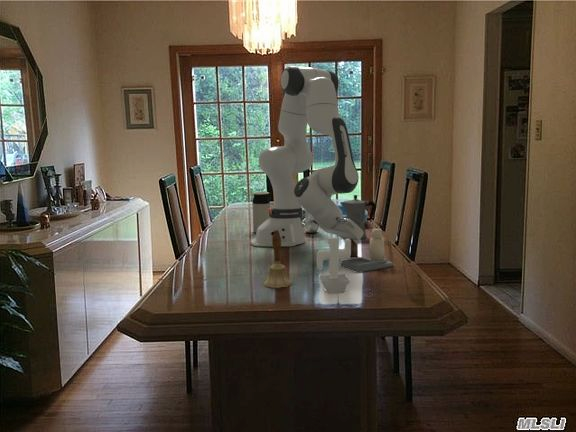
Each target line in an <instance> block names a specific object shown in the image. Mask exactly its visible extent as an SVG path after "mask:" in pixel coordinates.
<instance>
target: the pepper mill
mask: <svg viewBox="0 0 576 432" xmlns="http://www.w3.org/2000/svg"><path fill="white" fill-rule="evenodd" d="M345 239H347V238H346V237H345ZM348 239H350V238H348ZM350 240H351V256H350V258H349V259H353V258H359V257H358V256H359V250H358V249H359V247H358V245H359V243H358V244H355V243H354V242H353V240H352V239H350Z"/></svg>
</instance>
